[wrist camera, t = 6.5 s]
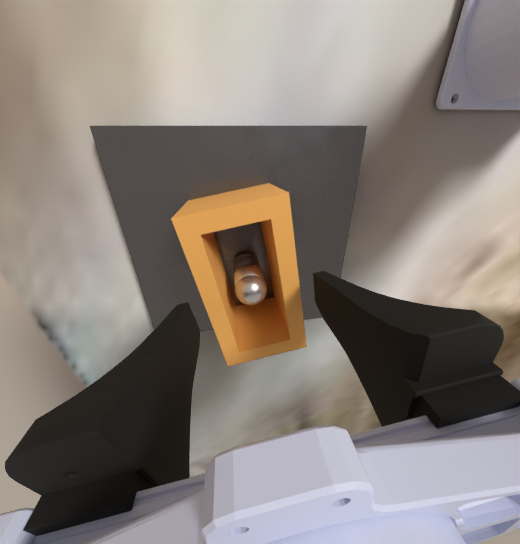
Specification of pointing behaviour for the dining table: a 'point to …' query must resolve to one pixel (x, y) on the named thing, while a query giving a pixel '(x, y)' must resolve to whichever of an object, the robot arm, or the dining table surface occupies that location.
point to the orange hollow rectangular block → (214, 283)
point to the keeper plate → (224, 178)
